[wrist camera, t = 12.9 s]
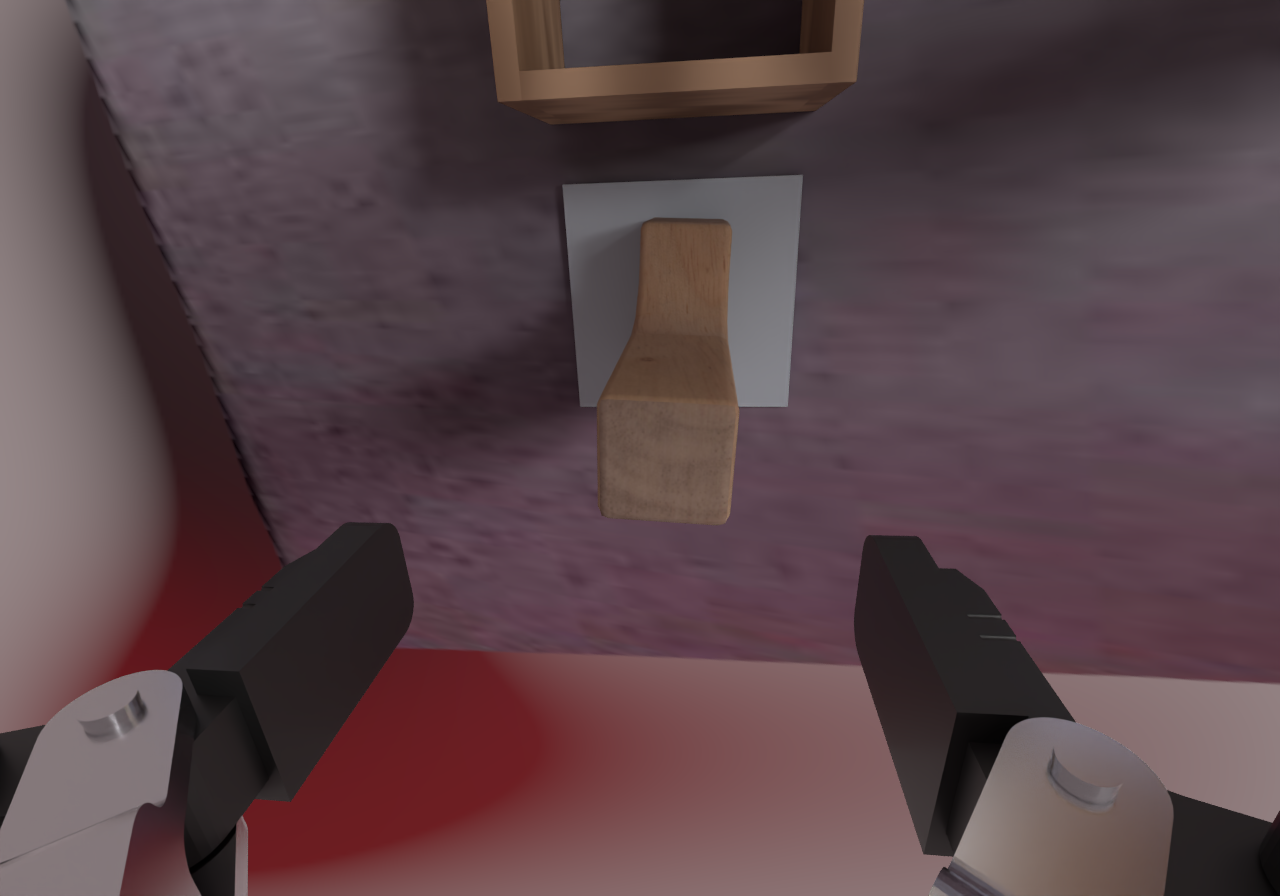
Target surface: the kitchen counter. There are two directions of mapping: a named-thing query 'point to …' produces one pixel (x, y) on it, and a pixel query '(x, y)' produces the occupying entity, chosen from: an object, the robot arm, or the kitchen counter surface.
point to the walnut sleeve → (668, 71)
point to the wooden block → (673, 384)
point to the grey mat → (757, 277)
